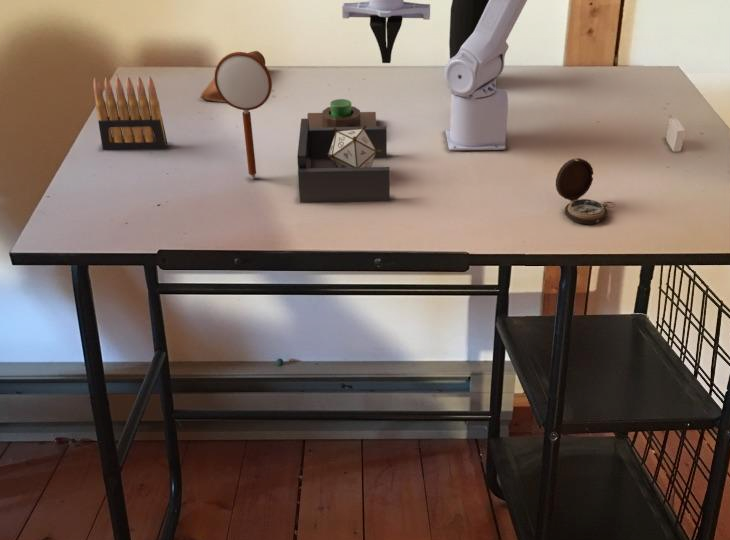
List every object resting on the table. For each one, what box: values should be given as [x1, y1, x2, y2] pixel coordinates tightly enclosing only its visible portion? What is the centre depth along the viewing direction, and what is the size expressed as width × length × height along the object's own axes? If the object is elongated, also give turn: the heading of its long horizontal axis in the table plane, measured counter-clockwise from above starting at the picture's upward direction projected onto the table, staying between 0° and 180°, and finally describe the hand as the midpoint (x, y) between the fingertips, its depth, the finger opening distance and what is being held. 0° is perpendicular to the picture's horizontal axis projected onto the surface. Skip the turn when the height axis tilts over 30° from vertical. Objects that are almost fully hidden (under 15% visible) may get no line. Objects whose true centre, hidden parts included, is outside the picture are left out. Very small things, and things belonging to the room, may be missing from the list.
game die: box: [324, 124, 382, 168], centre depth 146 cm, size 9×8×10 cm
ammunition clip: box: [93, 76, 168, 151], centre depth 154 cm, size 11×2×12 cm, turn 91°
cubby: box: [297, 118, 391, 203], centre depth 147 cm, size 14×16×7 cm
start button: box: [329, 98, 352, 117], centre depth 160 cm, size 4×4×2 cm
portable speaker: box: [448, 0, 489, 60], centre depth 174 cm, size 9×9×20 cm
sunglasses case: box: [199, 50, 266, 104], centre depth 179 cm, size 18×7×7 cm
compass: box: [555, 157, 616, 225], centre depth 137 cm, size 8×8×7 cm
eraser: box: [665, 118, 686, 153], centre depth 156 cm, size 1×5×4 cm, turn 1°
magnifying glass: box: [213, 51, 273, 180], centre depth 142 cm, size 9×2×20 cm, turn 83°
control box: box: [306, 105, 377, 128], centre depth 162 cm, size 12×9×4 cm
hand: (386, 61), depth 160 cm, fingers closed
